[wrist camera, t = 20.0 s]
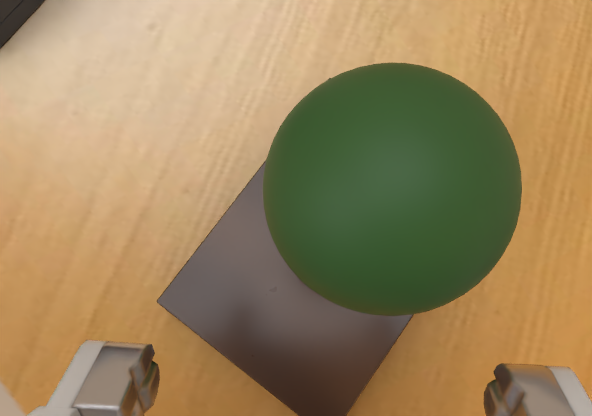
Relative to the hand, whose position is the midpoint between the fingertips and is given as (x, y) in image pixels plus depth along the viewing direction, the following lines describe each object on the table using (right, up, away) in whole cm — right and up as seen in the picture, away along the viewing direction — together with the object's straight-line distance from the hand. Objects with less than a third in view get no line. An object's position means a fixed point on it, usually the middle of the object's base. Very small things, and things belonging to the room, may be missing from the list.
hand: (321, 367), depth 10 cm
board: (+1, +2, +11) cm, 11 cm away
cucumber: (+1, +2, +10) cm, 10 cm away
